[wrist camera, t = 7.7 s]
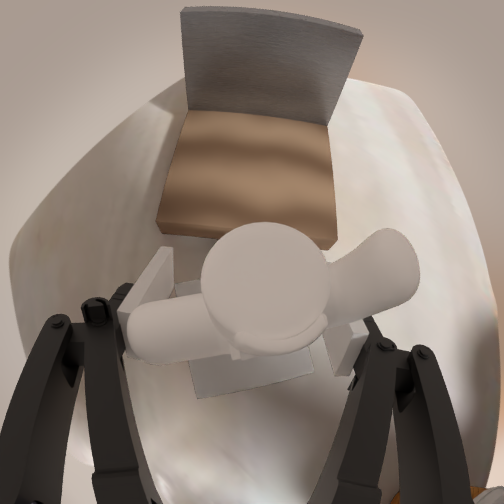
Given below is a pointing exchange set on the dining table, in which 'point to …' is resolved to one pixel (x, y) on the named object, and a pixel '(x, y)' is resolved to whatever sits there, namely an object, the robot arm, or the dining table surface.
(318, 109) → the grey metal bookend
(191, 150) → the walnut shelf board
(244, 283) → the figurine
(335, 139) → the dining table surface
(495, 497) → the disposable coffee cup
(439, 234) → the dining table surface
